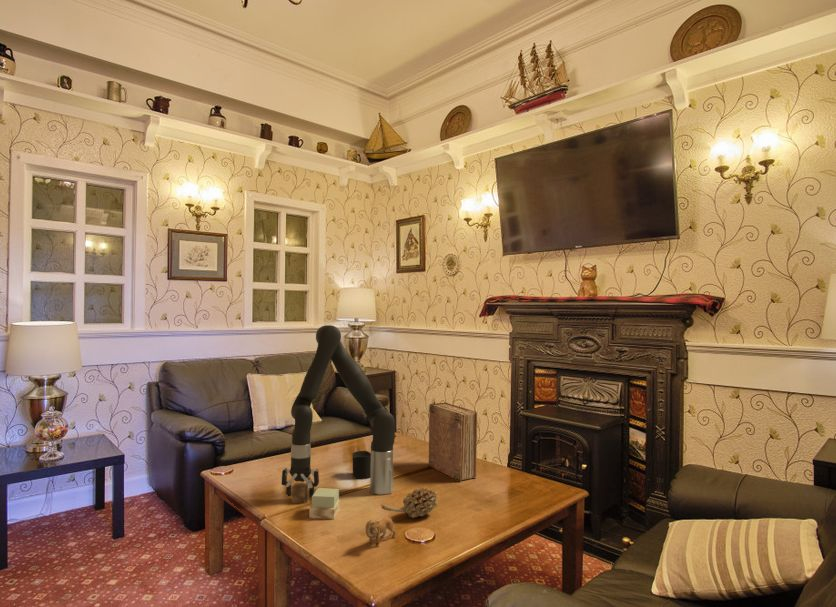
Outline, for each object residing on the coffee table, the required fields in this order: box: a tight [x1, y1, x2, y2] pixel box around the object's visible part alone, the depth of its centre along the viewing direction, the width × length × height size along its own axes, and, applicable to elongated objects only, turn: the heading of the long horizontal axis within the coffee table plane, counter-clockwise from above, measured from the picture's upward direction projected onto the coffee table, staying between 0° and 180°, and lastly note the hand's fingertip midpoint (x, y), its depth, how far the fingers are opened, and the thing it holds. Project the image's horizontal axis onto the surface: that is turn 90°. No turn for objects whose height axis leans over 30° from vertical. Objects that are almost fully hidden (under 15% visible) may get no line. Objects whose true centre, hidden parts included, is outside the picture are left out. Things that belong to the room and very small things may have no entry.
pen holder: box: [351, 450, 371, 480], centre depth 226 cm, size 9×9×10 cm
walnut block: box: [291, 482, 309, 504], centre depth 196 cm, size 5×5×6 cm
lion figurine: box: [365, 517, 396, 548], centre depth 163 cm, size 15×5×9 cm, turn 151°
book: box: [428, 402, 478, 483], centre depth 233 cm, size 25×9×30 cm, turn 32°
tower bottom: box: [308, 499, 341, 520], centre depth 184 cm, size 9×9×4 cm
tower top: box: [311, 487, 340, 508], centre depth 184 cm, size 8×8×4 cm
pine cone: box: [380, 487, 439, 519], centre depth 182 cm, size 22×10×10 cm, turn 115°
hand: (300, 496), depth 196 cm, fingers open, 8 cm apart
